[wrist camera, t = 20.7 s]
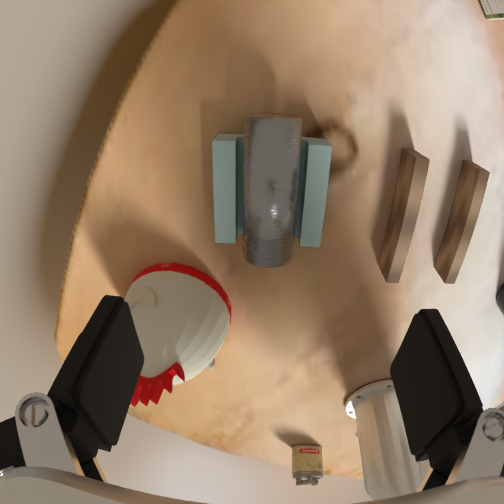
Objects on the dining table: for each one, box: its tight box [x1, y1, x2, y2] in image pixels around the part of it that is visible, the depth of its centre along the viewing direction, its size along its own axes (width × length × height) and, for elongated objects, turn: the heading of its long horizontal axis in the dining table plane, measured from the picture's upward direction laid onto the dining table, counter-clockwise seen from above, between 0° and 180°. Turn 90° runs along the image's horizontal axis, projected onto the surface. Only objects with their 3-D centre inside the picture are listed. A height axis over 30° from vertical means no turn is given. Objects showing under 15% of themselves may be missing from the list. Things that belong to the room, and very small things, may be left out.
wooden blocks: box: [378, 148, 490, 284], centre depth 30 cm, size 14×10×4 cm
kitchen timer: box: [124, 263, 231, 407], centre depth 34 cm, size 14×14×15 cm
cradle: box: [212, 134, 332, 247], centre depth 30 cm, size 10×10×4 cm
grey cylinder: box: [243, 113, 303, 267], centre depth 27 cm, size 13×5×5 cm, turn 179°
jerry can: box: [292, 445, 323, 486], centre depth 58 cm, size 7×4×10 cm, turn 80°
